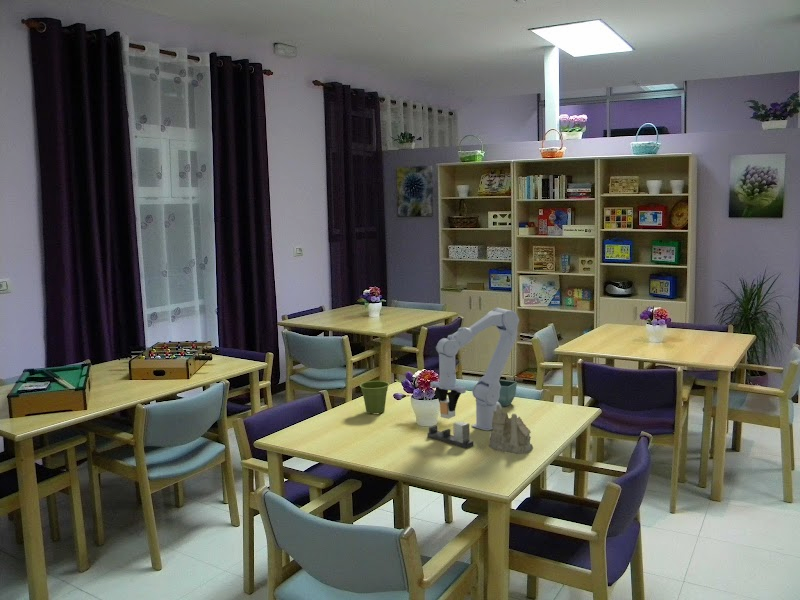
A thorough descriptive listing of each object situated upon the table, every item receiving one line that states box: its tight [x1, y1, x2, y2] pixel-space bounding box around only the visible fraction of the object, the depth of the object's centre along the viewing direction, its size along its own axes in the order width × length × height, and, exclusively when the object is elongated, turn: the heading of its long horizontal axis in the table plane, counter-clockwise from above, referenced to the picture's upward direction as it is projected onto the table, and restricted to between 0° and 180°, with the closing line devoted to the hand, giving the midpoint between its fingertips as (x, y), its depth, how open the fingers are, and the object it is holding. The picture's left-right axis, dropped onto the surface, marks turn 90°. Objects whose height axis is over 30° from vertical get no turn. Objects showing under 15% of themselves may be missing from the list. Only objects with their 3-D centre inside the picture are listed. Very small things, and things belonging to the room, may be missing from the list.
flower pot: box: [498, 379, 518, 407], centre depth 291 cm, size 9×9×9 cm
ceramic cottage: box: [488, 405, 534, 455], centre depth 242 cm, size 16×16×15 cm
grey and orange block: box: [439, 397, 456, 420], centre depth 255 cm, size 4×4×6 cm
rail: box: [427, 420, 474, 449], centre depth 247 cm, size 18×4×8 cm, turn 43°
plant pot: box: [358, 380, 390, 414], centre depth 285 cm, size 12×12×11 cm
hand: (448, 409), depth 255 cm, fingers closed on grey and orange block, 3 cm apart
